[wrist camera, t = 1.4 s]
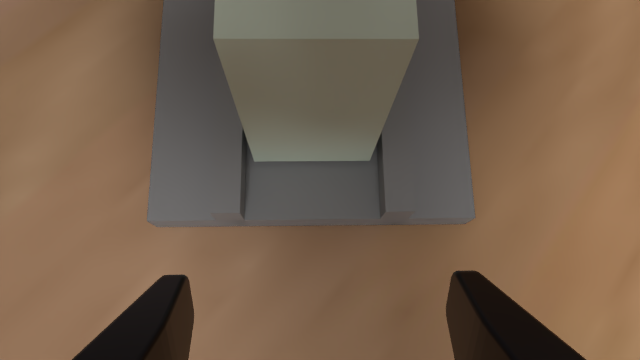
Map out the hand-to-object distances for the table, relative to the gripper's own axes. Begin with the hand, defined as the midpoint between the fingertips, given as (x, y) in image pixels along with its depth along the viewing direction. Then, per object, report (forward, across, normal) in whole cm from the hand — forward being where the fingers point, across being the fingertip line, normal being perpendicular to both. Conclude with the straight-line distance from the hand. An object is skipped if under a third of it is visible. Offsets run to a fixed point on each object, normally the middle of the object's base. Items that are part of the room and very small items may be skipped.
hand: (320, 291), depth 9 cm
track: (+18, 0, +2) cm, 18 cm away
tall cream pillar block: (+14, 0, +2) cm, 15 cm away
